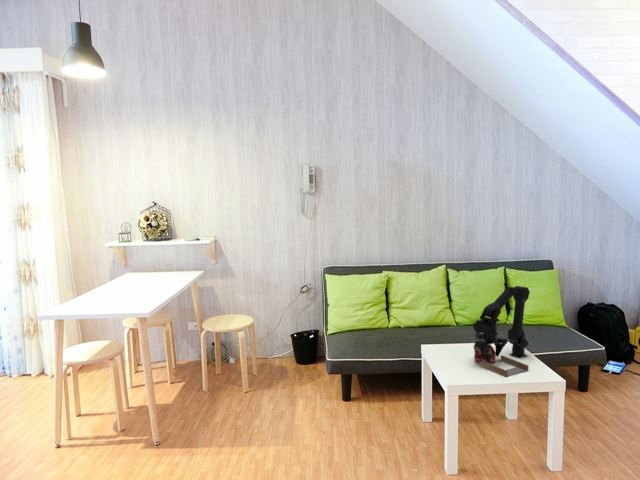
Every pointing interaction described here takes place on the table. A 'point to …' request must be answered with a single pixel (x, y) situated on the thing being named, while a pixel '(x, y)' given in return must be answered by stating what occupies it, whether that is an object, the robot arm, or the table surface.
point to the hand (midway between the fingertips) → (490, 357)
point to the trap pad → (514, 371)
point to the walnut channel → (500, 370)
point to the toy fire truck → (489, 357)
